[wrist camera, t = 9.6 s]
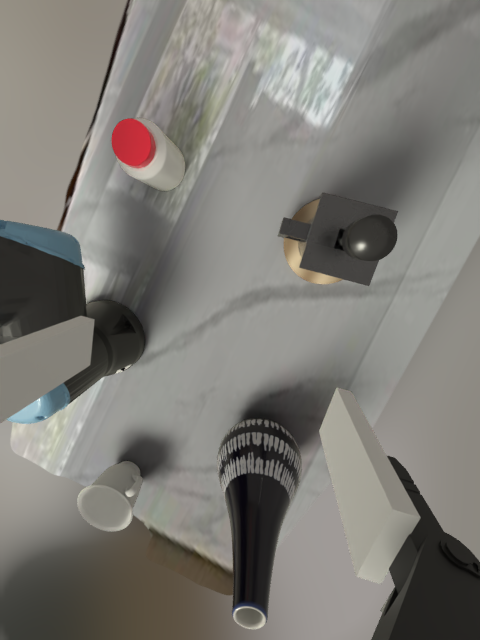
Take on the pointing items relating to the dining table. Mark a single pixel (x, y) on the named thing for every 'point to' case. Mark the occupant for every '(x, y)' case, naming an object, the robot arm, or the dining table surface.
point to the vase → (256, 507)
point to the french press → (332, 238)
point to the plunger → (368, 238)
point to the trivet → (293, 250)
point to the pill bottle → (148, 154)
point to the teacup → (111, 497)
